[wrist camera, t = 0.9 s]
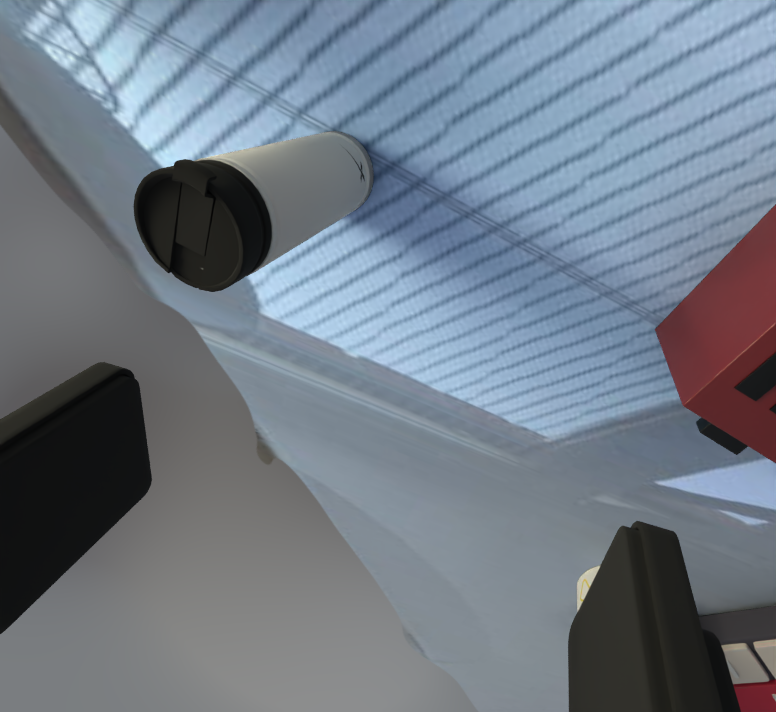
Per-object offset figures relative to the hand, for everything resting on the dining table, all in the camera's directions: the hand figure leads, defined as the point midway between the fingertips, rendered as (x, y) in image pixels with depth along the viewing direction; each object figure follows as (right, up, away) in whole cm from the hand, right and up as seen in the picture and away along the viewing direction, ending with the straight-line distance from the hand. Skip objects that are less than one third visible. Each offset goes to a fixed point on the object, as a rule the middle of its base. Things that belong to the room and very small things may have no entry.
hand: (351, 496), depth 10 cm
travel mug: (-3, +17, +31) cm, 36 cm away
